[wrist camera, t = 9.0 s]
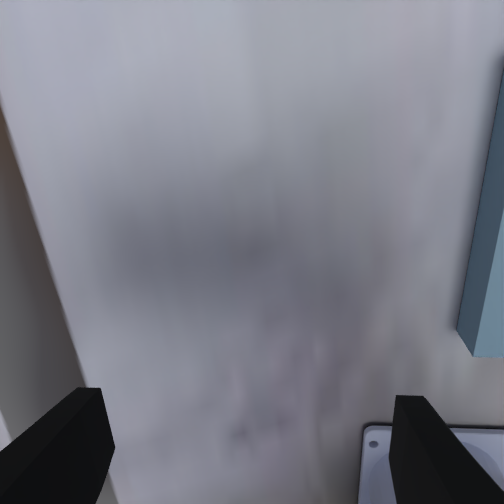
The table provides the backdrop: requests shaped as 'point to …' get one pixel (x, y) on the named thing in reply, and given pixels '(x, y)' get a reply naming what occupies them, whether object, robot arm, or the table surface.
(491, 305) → the base board
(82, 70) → the table surface
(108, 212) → the table surface
